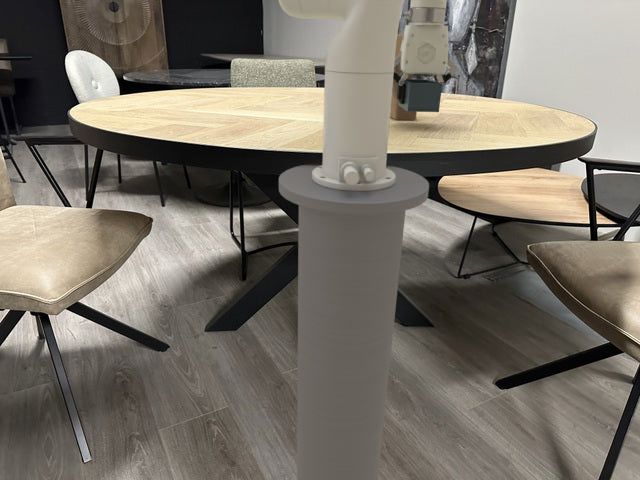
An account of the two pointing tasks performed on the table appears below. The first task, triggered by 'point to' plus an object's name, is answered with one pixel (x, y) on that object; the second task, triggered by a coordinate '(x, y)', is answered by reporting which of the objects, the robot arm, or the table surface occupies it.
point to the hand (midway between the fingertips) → (418, 102)
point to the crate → (422, 95)
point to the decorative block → (396, 110)
